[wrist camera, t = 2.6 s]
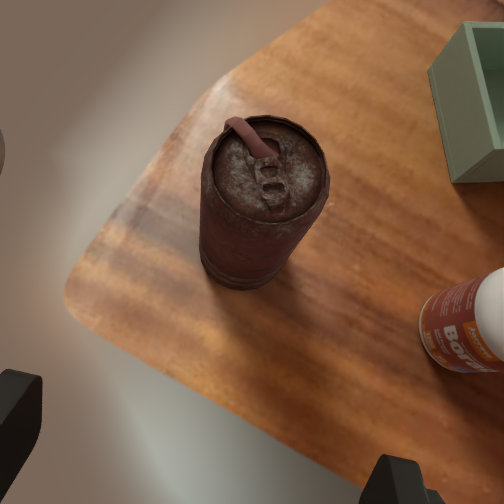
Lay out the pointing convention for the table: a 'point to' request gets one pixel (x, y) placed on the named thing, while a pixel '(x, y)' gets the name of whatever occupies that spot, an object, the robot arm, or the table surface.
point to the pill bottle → (466, 325)
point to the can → (258, 198)
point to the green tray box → (471, 101)
